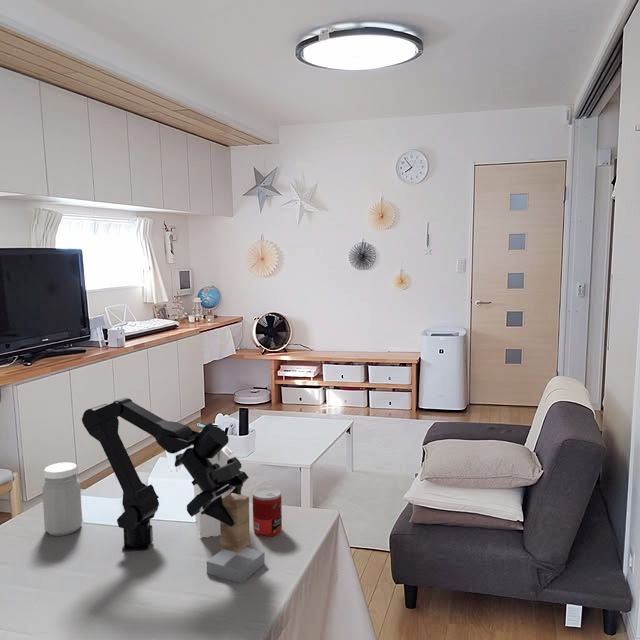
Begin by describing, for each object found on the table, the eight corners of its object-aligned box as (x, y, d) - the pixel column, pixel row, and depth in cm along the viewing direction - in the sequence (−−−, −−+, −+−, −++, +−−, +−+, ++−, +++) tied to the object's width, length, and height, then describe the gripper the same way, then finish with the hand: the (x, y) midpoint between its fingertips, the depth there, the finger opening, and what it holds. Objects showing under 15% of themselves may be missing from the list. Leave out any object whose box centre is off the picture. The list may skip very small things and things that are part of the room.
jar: (79, 519, 177) (76, 458, 175) (85, 531, 169) (82, 468, 167) (42, 526, 172) (38, 465, 170) (47, 540, 163) (43, 475, 162)
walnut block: (220, 548, 146) (219, 500, 145) (232, 539, 151) (231, 492, 150) (237, 552, 144) (237, 504, 143) (249, 543, 149) (248, 496, 147)
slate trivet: (206, 573, 146) (206, 561, 146) (231, 555, 155) (230, 543, 154) (241, 583, 141) (241, 570, 141) (264, 563, 150) (264, 552, 150)
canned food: (277, 538, 164) (277, 499, 163) (249, 535, 165) (248, 496, 164) (285, 526, 171) (284, 488, 170) (257, 523, 173) (257, 486, 172)
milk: (195, 520, 175) (192, 432, 173) (235, 514, 179) (233, 428, 176) (199, 538, 164) (197, 444, 161) (242, 532, 167) (240, 440, 165)
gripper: (195, 461, 138) (236, 517, 135) (241, 439, 155) (279, 488, 151) (169, 489, 143) (208, 544, 139) (217, 465, 159) (253, 513, 156)
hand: (239, 521), depth 146 cm, fingers closed on walnut block, 5 cm apart
